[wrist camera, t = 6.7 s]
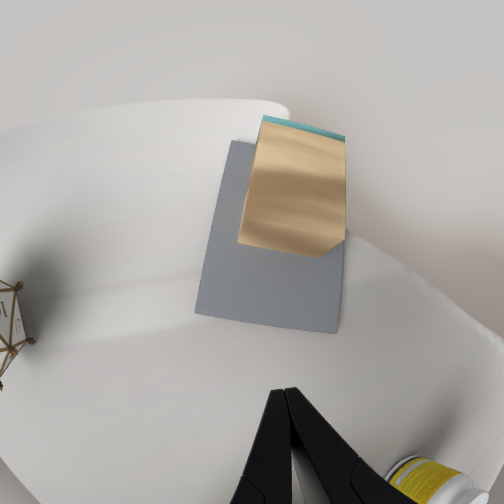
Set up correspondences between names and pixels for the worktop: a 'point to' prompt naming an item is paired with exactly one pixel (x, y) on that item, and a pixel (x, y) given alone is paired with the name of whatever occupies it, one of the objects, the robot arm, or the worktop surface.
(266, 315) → the mat
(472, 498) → the supplement bottle
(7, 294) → the game die
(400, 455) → the worktop surface
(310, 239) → the oak block
